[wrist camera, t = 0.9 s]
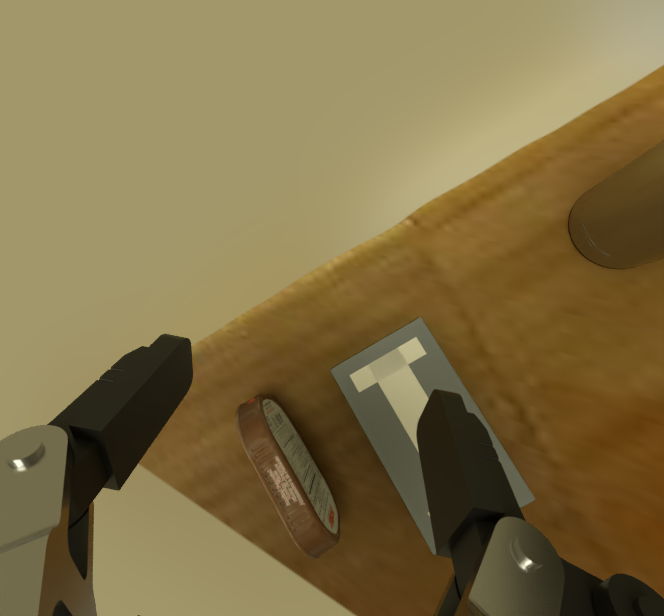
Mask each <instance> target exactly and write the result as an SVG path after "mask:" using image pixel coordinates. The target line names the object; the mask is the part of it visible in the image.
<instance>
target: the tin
mask: <svg viewBox="0 0 664 616" xmlns="http://www.w3.org/2000/svg"><path fill="white" fill-rule="evenodd" d="M236 425H237V430H238V434H239V437H240V440H241V443H242V445H243V448H244V450H245V452H246V454H247V456H248V458H249V460H250V462H251V463H252V465H253V467H254V469H255V471H256V473H257V475H258V477H259V478H260V480H261V482H262V484H263V486H264V488H265V490H266V491H267V493H268V495H269V497H270V499H271V501H272V503H273V505H274V506H275V508H276V510H277V512H278V514H279V516H280V518H281V520H282V521H283V523H284V525H285V527H286V529H287V531H288V533H289V535H290V537H291V538H292V540H293V542H294V543H295V545H296V546H297V547H298V548H299V550H300V551H301V552H302V553H303V554H304V555H305V556H306V557H308V558H310V559H317V558H319V556H320V555H321V554H322V553H324V552H325V551H327V550H328V549H330V548H331V547H333V546H334V545H335V544H337V543H338V542H339V539H340V516H339V512H338V509H337V506H336V503H335V500H334V498H333V495H332V493H331V491H330V488H329V486H328V484H327V482H326V481H325V479H324V477H323V475H322V473H321V472H320V470H319V468H318V466H317V464H316V463H315V461H314V459H313V457H312V455H311V454H310V452H309V450H308V448H307V447H306V445H305V443H304V441H303V440H302V438H301V436H300V434H299V433H298V431H297V429H296V428H295V426H294V424H293V422H292V421H291V419H290V417H289V416H288V414H287V413H286V411H285V410H284V409H283V407H282V406H281V405H280V404H279V403H278V402H277V401H276V400H275V399H274V398H273V397H272V396H270V395H267V394H259V395H257V396H256V397H254V398H252V399H251V400H249V401H248V402H246V403H243V404H241V405H240V406H239V407H238V408H237V411H236Z"/></svg>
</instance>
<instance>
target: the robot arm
mask: <svg viewBox="0 0 664 616" xmlns="http://www.w3.org/2000/svg"><path fill="white" fill-rule="evenodd" d="M569 230H570V234H571V237H572V240H573V242H574V244H575V245H576V247H577V249H578V250H579V251H580V252H581V253H582V254H583V255H584V256H585V257H587V258H588V259H589V260H591V261H592V262H594V263H597V264H599V265H601V266H605V267H609V268H617V269H624V268H632V267H635V266H639V265H642V264H646V263H649V262H653V261H657V260H660V259H664V140H663V141H662V142H660V143H659V144H657V145H656V146H654V147H653V148H651V149H650V150H648V151H647V152H645V153H644V154H642V155H641V156H640V157H638V158H637V159H635V160H634V161H632V162H631V163H629V164H628V165H626V166H625V167H623V168H622V169H620V170H619V171H617V172H616V173H614V174H613V175H611V176H610V177H608V178H607V179H605V180H604V181H602V182H601V183H600V184H598V185H597V186H595V187H594V188H592V189H591V190H589V191H588V192H586V193H585V194H584V195H583V196H582V197H580V198H579V199H578V201H577V202H576V204H575V205H574V206H573V209H572V211H571V214H570V219H569ZM192 378H193V367H192V352H191V342H190V340H189V339H188V338H184V337H179V336H173V335H169V334H163V335H161V336H160V337H159V338H158V339H157V340H156V341H155V342H153V344H151V345H150V347H144V346H142V347H140V348H138V349H136V350H134V351H132V352H130V353H128V354H126V355H124V356H123V357H122V358H121V359H120V360H119V361H118V362H116V363H115V364H114V365H113V366H112V367H111V370H108V371H106V372H105V373H104V374H103V375H102V376H101V377H100V379H99V380H97V381H95V382H94V383H93V384H92V385H91V386H90V387H89V388H88V389H87V390H85V392H83V393H82V394H81V395H80V396H79V397H78V398H77V399H76V400H75V401H73V402H72V403H71V404H70V405H69V406H68V407H67V408H66V409H65V410H64V411H62V412H61V413H60V414H59V415H58V416H57V417H56V418H55V419H53V421H51V422H50V423H49V424H47V425H41V426H35V427H30V428H27V429H24V430H21V431H18V432H16V433H14V434H12V435H9V436H8V437H6V438H4V439H3V440H1V441H0V616H97V613H96V604H95V599H94V593H93V583H92V582H93V523H94V522H93V521H94V503H93V500H94V499H95V497H96V496H97V495H98V493H99V492H100V491H101V489H102V488H109V489H113V490H120V489H121V487H122V486H123V484H124V483H125V481H126V480H127V479H128V477H129V476H130V474H131V473H132V471H133V470H134V468H135V467H136V466H137V464H138V463H139V461H140V460H141V458H142V457H143V456H144V454H145V453H146V451H147V450H148V448H149V447H150V446H151V444H152V443H153V441H154V440H155V438H156V437H157V435H158V434H159V433H160V431H161V430H162V428H163V427H164V425H165V424H166V422H167V421H168V420H169V418H170V417H171V415H172V414H173V412H174V411H175V410H176V408H177V407H178V405H179V404H180V402H181V401H182V399H183V398H184V397H185V395H186V394H187V392H188V390H189V388H190V386H191V383H192ZM416 438H417V444H418V450H419V456H420V462H421V468H422V473H423V479H424V485H425V491H426V496H427V502H428V508H429V514H430V519H431V525H432V531H433V537H434V542H435V548H436V554H437V555H440V556H445V557H450V558H452V561H453V566H454V572H453V573H452V575H451V577H450V579H449V581H448V584H447V586H446V588H445V590H444V593H443V595H442V597H441V599H440V601H439V604H438V606H437V608H436V610H435V613H434V615H433V616H664V599H663V598H662V597H661V596H660V595H659V594H658V593H657V592H655V591H654V590H653V589H652V588H650V587H649V586H648V585H646V584H645V583H643V582H642V581H640V580H638V579H636V578H634V577H632V576H629V575H626V574H615V575H613V576H611V577H610V578H608V579H607V580H605V581H602V580H601V579H599V578H597V577H595V576H593V575H591V574H589V573H587V572H586V571H584V570H582V569H580V568H578V567H576V566H574V565H572V564H571V563H569V562H567V561H565V560H563V559H562V558H560V557H559V556H558V554H557V552H556V550H555V549H554V547H553V546H552V544H551V543H550V542H549V541H548V539H547V538H546V537H545V536H544V535H543V534H542V533H541V532H540V531H539V530H538V529H536V528H535V527H534V526H532V525H531V524H530V523H528V522H526V521H525V519H524V516H523V514H522V512H521V510H520V507H519V505H518V502H517V500H516V498H515V495H514V493H513V490H512V488H511V486H510V483H509V481H508V479H507V476H506V474H505V471H504V469H503V467H502V464H501V462H499V457H498V455H497V452H496V450H495V448H493V443H492V440H491V438H490V436H489V433H488V431H487V429H486V427H485V426H484V425H483V424H482V422H481V421H480V420H479V419H478V418H477V416H476V415H475V414H474V413H469V412H467V410H466V407H465V404H464V402H463V399H462V397H461V395H460V394H458V393H453V392H448V391H443V390H438V389H434V390H433V391H432V393H431V395H430V397H429V399H428V401H427V404H426V406H425V408H424V410H423V412H422V414H421V416H420V418H419V421H418V424H417V431H416ZM138 616H139V615H138Z"/></svg>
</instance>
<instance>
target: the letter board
mask: <svg viewBox="0 0 664 616" xmlns="http://www.w3.org/2000/svg"><path fill="white" fill-rule="evenodd" d="M330 371H331V373H332V374H333V376H334V378H335V380H336V381H337V383H338V385H339V387H340V389H341V390H342V392H343V394H344V396H345V398H346V399H347V401H348V403H349V405H350V406H351V408H352V410H353V412H354V414H355V415H356V417H357V419H358V421H359V423H360V424H361V426H362V428H363V430H364V432H365V433H366V435H367V437H368V439H369V440H370V442H371V444H372V446H373V448H374V449H375V451H376V453H377V455H378V457H379V458H380V460H381V462H382V464H383V465H384V467H385V469H386V471H387V473H388V474H389V476H390V478H391V480H392V482H393V483H394V485H395V487H396V489H397V490H398V492H399V494H400V496H401V498H402V499H403V501H404V503H405V505H406V507H407V508H408V510H409V512H410V514H411V516H412V517H413V519H414V521H415V523H416V524H417V526H418V528H419V530H420V532H421V533H422V535H423V537H424V539H425V541H426V542H427V544H428V546H429V548H430V549H431V551H432V553H433V555H435V554H436V548H435V542H434V537H433V531H432V525H431V519H430V514H429V508H428V502H427V496H426V491H425V485H424V479H423V473H422V468H421V462H420V456H419V450H418V444H417V438H416V431H417V424H418V421H419V418H420V416H421V414H422V412H423V410H424V408H425V406H426V404H427V401H428V399H429V397H430V395H431V393H432V391H433V390H434V389H438V390H443V391H448V392H453V393H458V394H460V395H461V397H462V399H463V402H464V404H465V407H466V410H467V412H469V413H474V414H475V415H476V416H477V418H478V419H479V420H480V421H481V422H482V424H483V425H484V426H485V427H486V429H487V431H488V433H489V436H490V438H491V440H492V443H493V448H495V450H496V452H497V455H498V457H499V462H501V464H502V467H503V469H504V471H505V474H506V476H507V479H508V481H509V483H510V486H511V488H512V490H513V493H514V495H515V498H516V500H517V502H518V505H519V507H520V508H521V507H523V506H525V505H527V504H528V503H530V502H532V501H534V500H536V499H535V498H534V496H533V494H532V493H531V491H530V490H529V488H528V486H527V485H526V483H525V482H524V480H523V478H522V477H521V475H520V474H519V472H518V471H517V469H516V467H515V466H514V464H513V463H512V461H511V459H510V458H509V456H508V455H507V453H506V451H505V450H504V448H503V447H502V445H501V444H500V442H499V440H498V439H497V437H496V436H495V434H494V432H493V431H492V429H491V428H490V426H489V425H488V423H487V421H486V420H485V418H484V417H483V415H482V413H481V412H480V410H479V409H478V407H477V405H476V404H475V402H474V401H473V399H472V398H471V396H470V394H469V393H468V391H467V390H466V388H465V386H464V385H463V383H462V382H461V380H460V378H459V377H458V375H457V374H456V372H455V371H454V369H453V367H452V366H451V364H450V363H449V361H448V359H447V358H446V356H445V355H444V353H443V351H442V350H441V348H440V347H439V345H438V344H437V342H436V340H435V339H434V337H433V336H432V334H431V332H430V331H429V329H428V328H427V326H426V324H425V323H424V321H423V320H422V318H421V317H420V318H418V319H416V320H414V321H413V322H411V323H409V324H408V325H406V326H404V327H402V328H401V329H399V330H397V331H396V332H394V333H392V334H390V335H389V336H387V337H385V338H383V339H382V340H380V341H378V342H377V343H375V344H373V345H371V346H370V347H368V348H366V349H364V350H363V351H361V352H359V353H358V354H356V355H354V356H352V357H351V358H349V359H347V360H346V361H344V362H342V363H340V364H339V365H337V366H335V367H333V368H332V369H330Z"/></svg>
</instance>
